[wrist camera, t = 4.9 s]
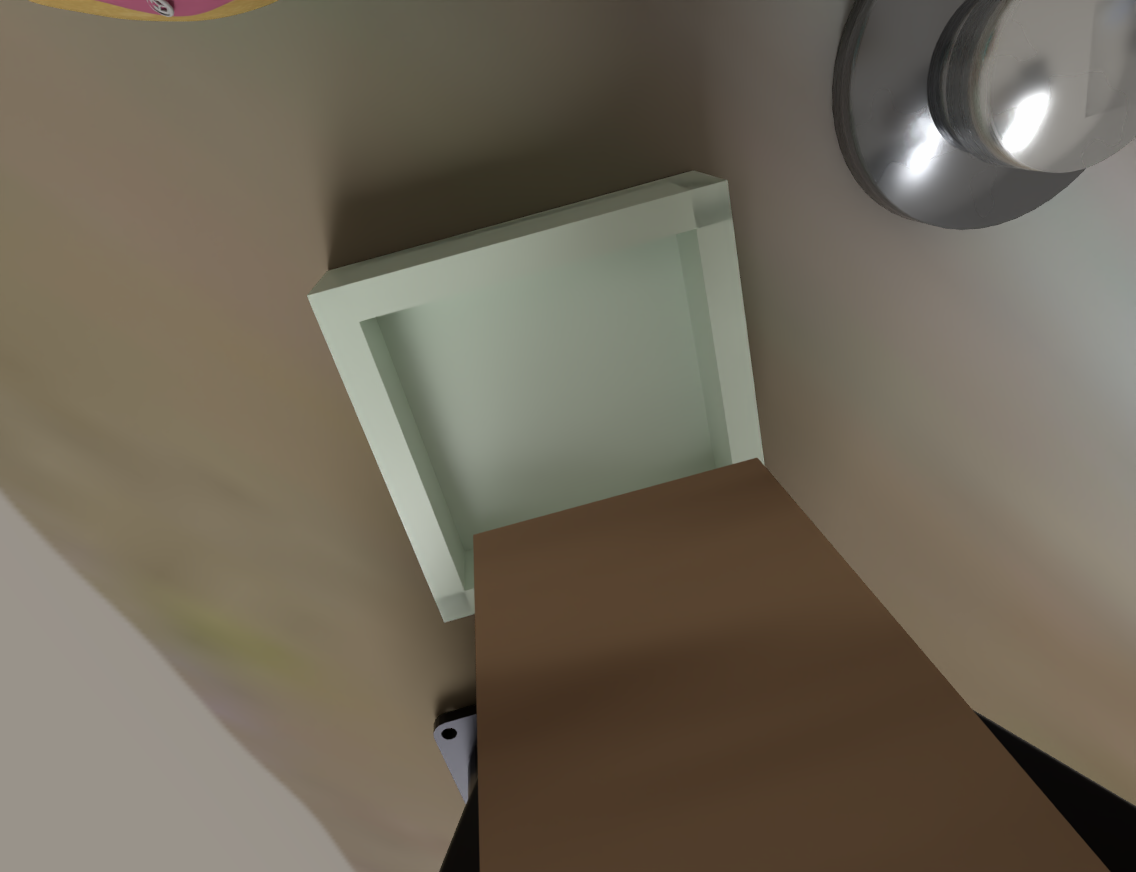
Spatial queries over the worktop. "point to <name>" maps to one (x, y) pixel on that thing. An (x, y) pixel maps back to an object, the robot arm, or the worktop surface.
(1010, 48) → the crank
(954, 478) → the worktop surface
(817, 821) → the stop block
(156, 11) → the cupcake
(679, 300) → the tray
